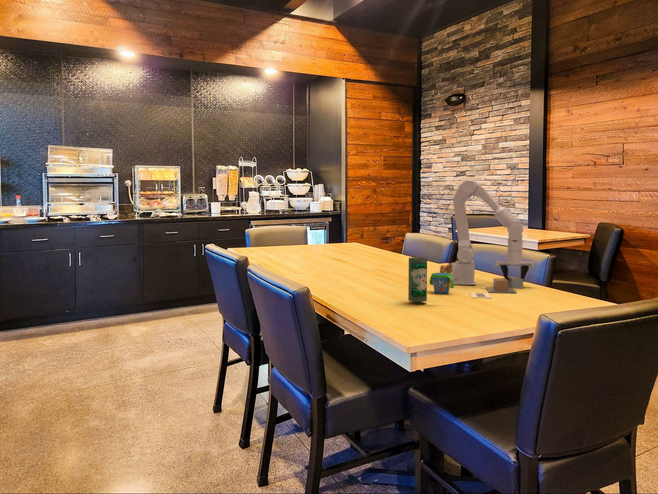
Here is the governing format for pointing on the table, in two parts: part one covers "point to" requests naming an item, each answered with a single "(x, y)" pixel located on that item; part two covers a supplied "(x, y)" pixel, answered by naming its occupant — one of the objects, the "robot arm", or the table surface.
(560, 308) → the table surface
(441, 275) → the snack cup
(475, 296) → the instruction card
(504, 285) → the brown brick
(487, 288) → the baseplate
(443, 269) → the lion figurine
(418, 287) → the can
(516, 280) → the grey brick
